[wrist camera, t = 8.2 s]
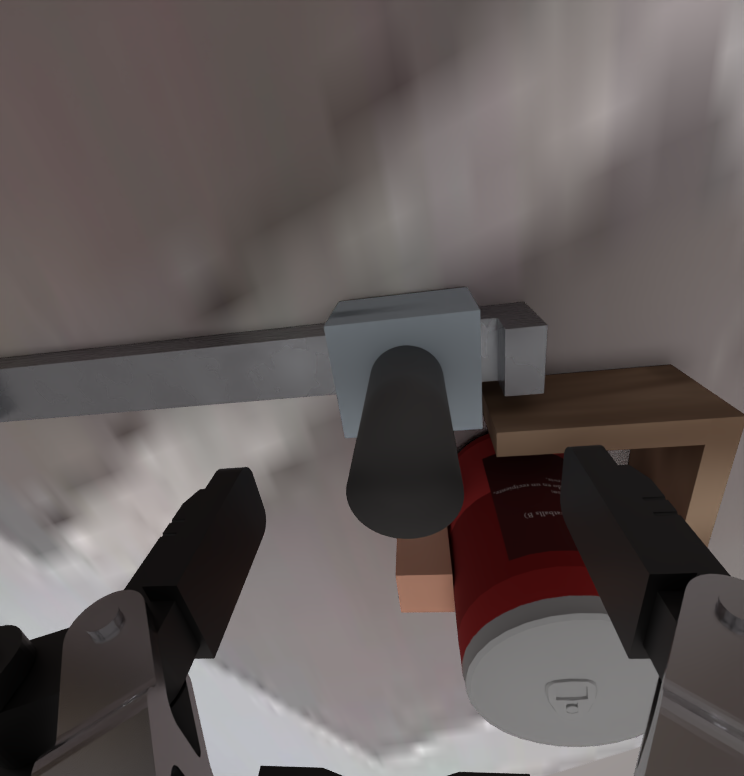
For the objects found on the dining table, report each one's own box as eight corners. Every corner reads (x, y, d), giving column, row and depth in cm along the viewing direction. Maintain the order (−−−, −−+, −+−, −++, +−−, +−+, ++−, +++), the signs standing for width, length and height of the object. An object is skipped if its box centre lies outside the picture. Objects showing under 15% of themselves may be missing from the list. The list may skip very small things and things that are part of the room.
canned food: (472, 546, 26) (509, 762, 16) (419, 454, 23) (425, 646, 14) (594, 510, 24) (721, 731, 14) (551, 403, 21) (673, 588, 12)
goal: (478, 380, 21) (496, 432, 17) (671, 364, 20) (746, 416, 15) (483, 582, 28) (497, 659, 23) (628, 580, 26) (673, 660, 22)
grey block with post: (338, 301, 19) (267, 417, 10) (467, 287, 19) (530, 396, 9) (374, 507, 25) (351, 713, 15) (474, 502, 24) (517, 717, 14)
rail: (-27, 361, 23) (-98, 389, 20) (524, 301, 19) (547, 325, 16) (0, 407, 24) (-62, 440, 21) (522, 360, 20) (544, 393, 17)
